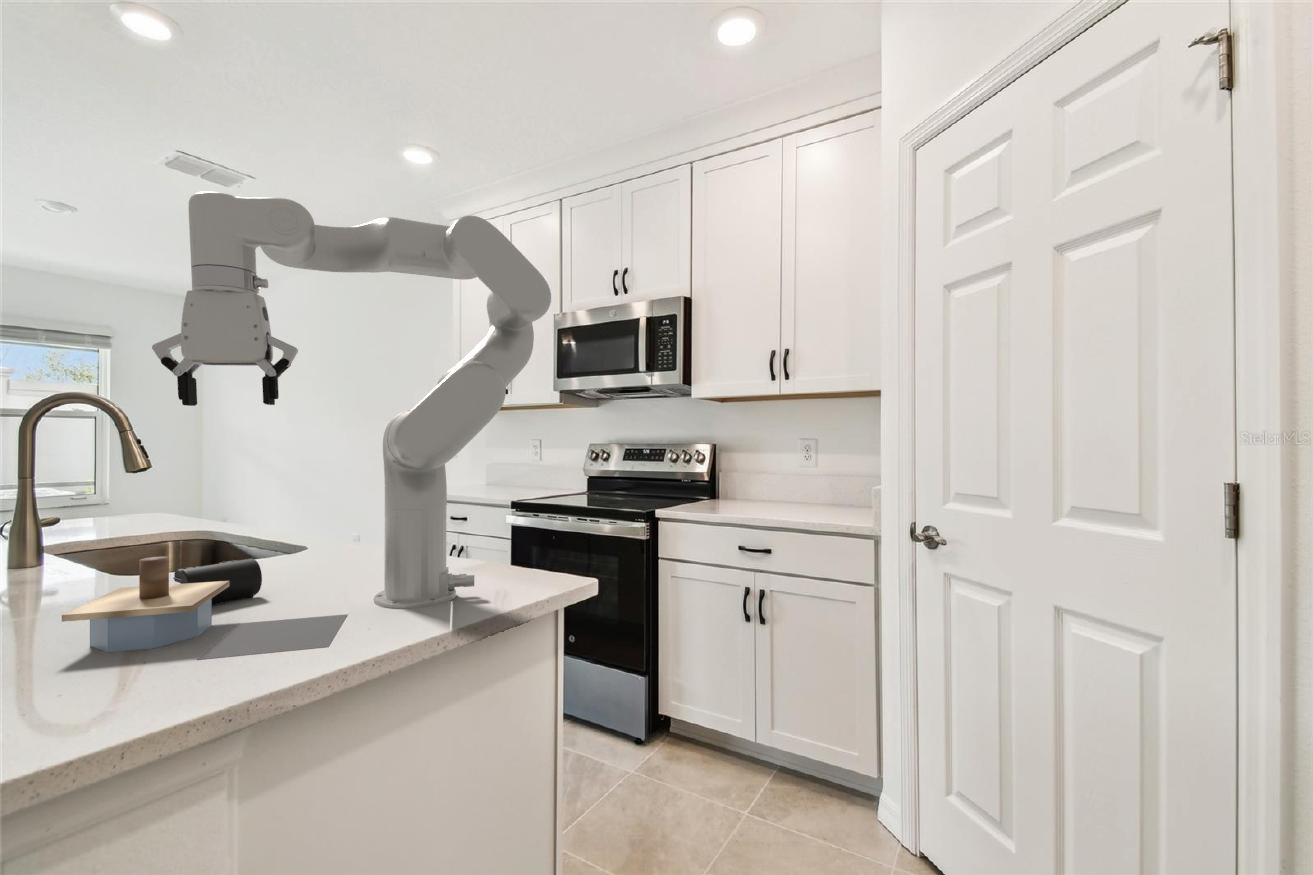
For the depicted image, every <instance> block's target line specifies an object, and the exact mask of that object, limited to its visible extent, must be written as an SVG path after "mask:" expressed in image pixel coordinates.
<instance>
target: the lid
mask: <svg viewBox="0 0 1313 875" xmlns="http://www.w3.org/2000/svg"><path fill="white" fill-rule="evenodd" d="M138 562H139V564H138V566H139V567H138V568H139V572H138V574H139V577H138V578H139V580H138V582H139V586H127V587H119V588H116V589H115V590H112V591H111V592H108V593H106V594H104V595H102V596H99V597H97V598H95V599H93V600H90V601H89V602H87V603H84V604H82V605H80V606H79V607H76V608H74V609H72V610H69V611H67V612H65V613H63V614H61V622H77V621H87V620H89V621H90V620H91V619H104V618H117V617H130V616H143V615H156V614H169V613H182V612H192V611H194V610H195V609H197V608H198V607H200V606H201V605H203V604H204V603H205V602H207V601H208V600H210V599H211V598H213V597H214V596H216V595H217V594H219V593H220V592H222V591H223V590H225V589H226V588H227V587H229V581H218V582H202V583H186V584H181V583H175V584H170V564H169V563H170V558H169V556H152V557H145V558H141V559H139V561H138Z"/></svg>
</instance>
